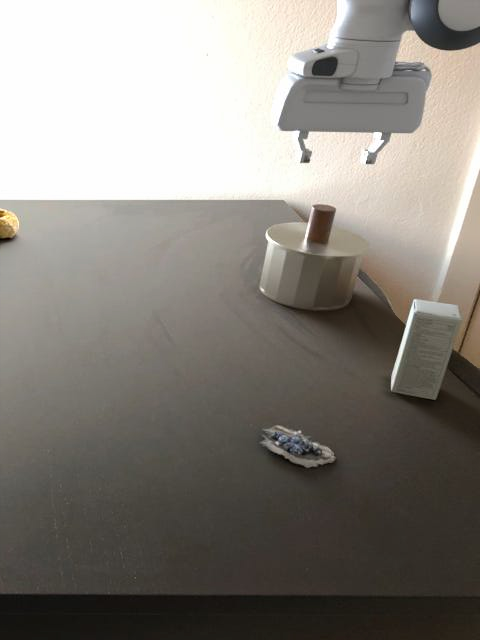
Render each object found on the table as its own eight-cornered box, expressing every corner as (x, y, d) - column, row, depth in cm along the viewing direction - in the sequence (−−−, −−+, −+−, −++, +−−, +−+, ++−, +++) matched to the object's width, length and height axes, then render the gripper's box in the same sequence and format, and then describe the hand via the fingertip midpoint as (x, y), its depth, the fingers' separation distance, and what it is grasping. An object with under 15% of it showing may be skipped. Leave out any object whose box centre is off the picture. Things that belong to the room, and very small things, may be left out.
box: (434, 385, 93) (462, 305, 88) (436, 401, 90) (465, 319, 84) (388, 375, 95) (413, 297, 90) (388, 391, 92) (414, 311, 86)
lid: (343, 229, 120) (352, 193, 117) (384, 264, 107) (396, 224, 104) (252, 228, 120) (259, 192, 117) (283, 263, 107) (292, 223, 104)
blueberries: (261, 424, 85) (264, 410, 84) (336, 440, 82) (340, 426, 81) (256, 457, 79) (259, 443, 78) (336, 475, 77) (340, 460, 76)
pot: (329, 276, 124) (342, 227, 119) (365, 311, 112) (380, 258, 108) (248, 275, 123) (258, 226, 119) (275, 310, 112) (286, 257, 107)
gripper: (423, 59, 103) (395, 158, 110) (277, 56, 103) (258, 156, 110) (447, 65, 98) (416, 170, 105) (293, 62, 97) (272, 167, 104)
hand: (334, 162), depth 107 cm, fingers open, 8 cm apart
